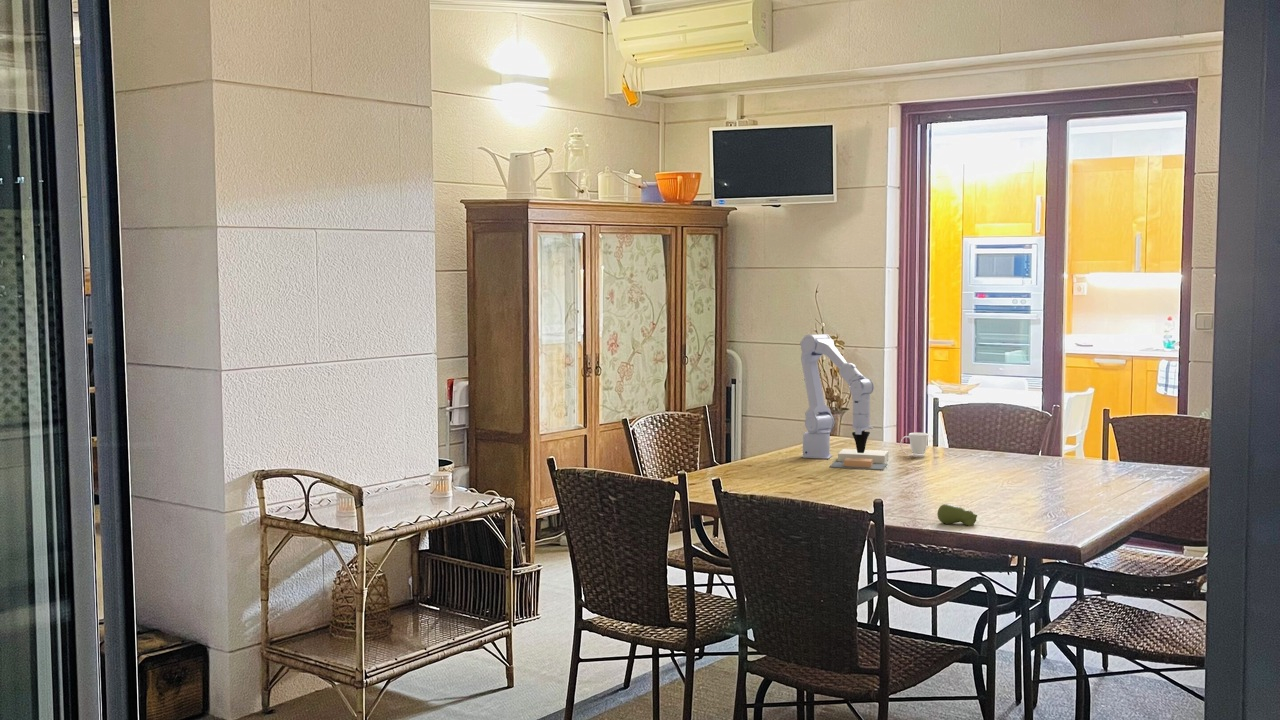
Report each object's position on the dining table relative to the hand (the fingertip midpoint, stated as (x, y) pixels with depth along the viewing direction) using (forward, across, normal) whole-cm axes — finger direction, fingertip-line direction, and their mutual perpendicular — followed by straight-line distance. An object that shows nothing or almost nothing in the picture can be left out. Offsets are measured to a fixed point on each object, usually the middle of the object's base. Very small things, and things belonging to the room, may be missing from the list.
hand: (860, 452), depth 403 cm
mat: (+4, -6, 0) cm, 7 cm away
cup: (+4, +24, -16) cm, 29 cm away
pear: (+4, -92, -37) cm, 99 cm away
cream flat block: (+4, +7, 0) cm, 8 cm away
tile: (+1, -7, 0) cm, 7 cm away
